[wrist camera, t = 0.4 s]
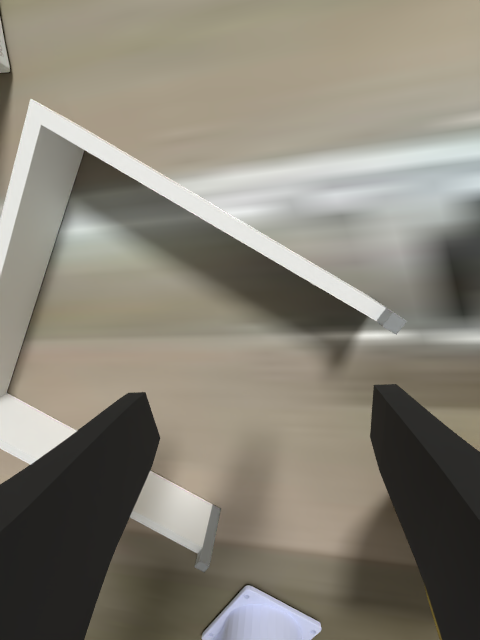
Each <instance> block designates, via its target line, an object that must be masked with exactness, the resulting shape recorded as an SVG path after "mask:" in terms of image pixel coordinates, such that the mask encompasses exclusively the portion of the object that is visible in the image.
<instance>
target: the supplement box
mask: <svg viewBox="0 0 480 640" xmlns="http://www.w3.org/2000/svg"><path fill="white" fill-rule="evenodd" d="M5 72H10V65H9V61H8V56H7V51H6V47H5V41H4V35H3V30H2V24H1V18H0V73H5Z"/></svg>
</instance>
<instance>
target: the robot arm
mask: <svg viewBox="0 0 480 640" xmlns="http://www.w3.org/2000/svg"><path fill="white" fill-rule="evenodd" d="M370 438H371V442H372V445H373V449H374V453H375V456H376V460H377V463H378V467H379V470H380V473H381V476H382V478H383V481H384V483H385V486H386V488H387V491H388V493H389V496H390V498H391V501H392V503H393V506H394V508H395V511H396V513H397V516H398V518H399V520H400V523H401V525H402V528H403V530H404V533H405V535H406V538H407V540H408V543H409V545H410V548H411V550H412V552H413V555H414V557H415V560H416V562H417V565H418V568H419V571H420V573H421V576H422V579H423V582H424V584H425V587H426V591H427V594H428V597H429V600H430V603H431V606H432V609H433V613H434V616H435V619H436V622H437V625H438V628H439V632H440V635H441V638H442V640H480V452H479V451H478V450H476V449H475V448H474V447H472V446H471V445H470V444H468V443H467V442H466V441H465V440H463V439H462V438H461V437H459V436H458V435H457V434H456V433H454V432H453V431H452V430H451V429H449V428H448V427H447V426H446V425H444V424H443V423H442V422H441V421H439V420H438V419H437V418H436V417H435V416H433V415H432V414H431V413H430V412H429V411H427V410H426V409H425V408H424V407H423V406H421V405H420V404H419V403H418V402H417V401H416V400H414V399H413V398H412V397H411V396H410V395H408V394H407V393H406V392H405V391H404V390H403V389H401V388H400V387H399V386H398V385H396V384H391V385H374V391H373V405H372V419H371V433H370ZM159 440H160V436H159V433H158V430H157V427H156V424H155V421H154V418H153V414H152V411H151V408H150V405H149V402H148V399H147V396H146V393H145V392H141V393H128V394H126V395H125V396H123V397H122V398H120V399H119V400H117V401H116V402H115V403H113V404H112V405H111V406H109V407H108V408H107V409H105V410H104V411H103V412H101V413H100V414H99V415H97V416H96V417H95V418H94V419H92V420H91V421H90V422H88V423H87V424H86V425H84V426H83V427H82V428H80V429H79V430H78V431H76V432H75V433H74V434H72V435H71V436H70V437H68V438H67V439H66V440H64V441H63V442H62V443H60V444H59V445H57V446H56V447H55V448H53V449H52V450H50V451H49V452H48V453H46V454H45V455H43V456H42V457H41V458H39V459H38V460H36V461H35V462H34V463H32V464H31V465H29V466H28V467H26V468H25V469H23V470H22V471H20V472H19V473H17V474H16V475H14V476H13V477H11V478H10V479H8V480H7V481H5V482H4V483H2V484H0V640H84V638H85V635H86V632H87V629H88V626H89V623H90V620H91V617H92V614H93V610H94V607H95V604H96V601H97V599H98V596H99V593H100V590H101V587H102V584H103V581H104V579H105V576H106V573H107V570H108V567H109V564H110V562H111V559H112V557H113V554H114V552H115V549H116V547H117V544H118V542H119V540H120V538H121V535H122V533H123V531H124V529H125V526H126V524H127V522H128V520H129V517H130V515H131V513H132V511H133V508H134V506H135V504H136V502H137V500H138V497H139V495H140V493H141V491H142V488H143V486H144V484H145V481H146V479H147V477H148V474H149V472H150V470H151V467H152V464H153V461H154V458H155V454H156V451H157V447H158V444H159ZM320 631H321V624H320V622H318V621H317V620H315V619H313V618H311V617H309V616H307V615H305V614H304V613H302V612H300V611H298V610H296V609H294V608H292V607H290V606H288V605H287V604H285V603H283V602H281V601H279V600H277V599H275V598H273V597H272V596H270V595H268V594H266V593H264V592H262V591H260V590H258V589H257V588H255V587H253V586H250V585H247V586H245V587H244V588H243V589H242V590H241V591H240V592H239V594H238V595H237V596H236V597H235V598H234V599H233V600H232V601H231V602H230V603H229V605H228V606H227V607H226V608H225V609H224V610H223V611H222V612H221V613H220V614H219V616H218V617H217V618H216V619H215V620H214V621H213V622H212V623H211V624H210V625H209V627H208V628H207V629H206V630H205V631H204V632H203V634H202V640H311V639H312V638H313V637H314V636H316V635H317V634H318V633H319V632H320Z"/></svg>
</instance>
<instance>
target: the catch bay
mask: <svg viewBox="0 0 480 640" xmlns="http://www.w3.org/2000/svg"><path fill="white" fill-rule="evenodd" d="M84 150H85V151H87V152H89V153H90V154H92V155H94V156H96V157H97V158H99V159H101V160H102V161H104V162H106V163H107V164H109V165H111V166H113V167H114V168H116V169H118V170H119V171H121V172H123V173H125V174H126V175H128V176H130V177H131V178H133V179H135V180H136V181H138V182H140V183H142V184H143V185H145V186H147V187H148V188H150V189H152V190H154V191H155V192H157V193H159V194H160V195H162V196H164V197H165V198H167V199H169V200H171V201H172V202H174V203H176V204H177V205H179V206H181V207H183V208H184V209H186V210H188V211H189V212H191V213H193V214H194V215H196V216H198V217H200V218H201V219H203V220H205V221H206V222H208V223H210V224H212V225H213V226H215V227H217V228H218V229H220V230H222V231H223V232H225V233H227V234H229V235H230V236H232V237H234V238H235V239H237V240H239V241H241V242H242V243H244V244H246V245H247V246H249V247H251V248H252V249H254V250H256V251H258V252H259V253H261V254H263V255H264V256H266V257H268V258H270V259H271V260H273V261H275V262H276V263H278V264H280V265H281V266H283V267H285V268H287V269H288V270H290V271H292V272H293V273H295V274H297V275H298V276H300V277H302V278H304V279H305V280H307V281H309V282H310V283H312V284H314V285H316V286H317V287H319V288H321V289H322V290H324V291H326V292H327V293H329V294H331V295H333V296H334V297H336V298H338V299H339V300H341V301H343V302H345V303H346V304H348V305H350V306H351V307H353V308H355V309H356V310H358V311H360V312H362V313H363V314H365V315H367V316H368V317H370V318H372V319H374V320H375V321H377V322H378V323H379V324H380V325H381V326H382V327H384V328H386V329H388V330H389V331H391V332H393V333H394V334H397V333H398V332H399V331H400V329H401V328H402V327H403V326H404V324H405V323H406V322H407V321H406V320H405V319H403V318H402V317H400V316H399V315H397V314H396V313H394V312H393V311H391V310H390V309H388V308H387V307H385V306H384V305H382V304H381V303H379V302H378V301H376V300H375V299H373V298H371V297H370V296H368V295H366V294H365V293H363V292H361V291H360V290H358V289H356V288H354V287H353V286H351V285H349V284H348V283H346V282H344V281H343V280H341V279H339V278H337V277H336V276H334V275H332V274H331V273H329V272H327V271H326V270H324V269H322V268H321V267H319V266H317V265H315V264H314V263H312V262H310V261H309V260H307V259H305V258H304V257H302V256H300V255H298V254H297V253H295V252H293V251H292V250H290V249H288V248H287V247H285V246H283V245H282V244H280V243H278V242H276V241H275V240H273V239H271V238H270V237H268V236H266V235H265V234H263V233H261V232H259V231H258V230H256V229H254V228H253V227H251V226H249V225H248V224H246V223H244V222H243V221H241V220H239V219H237V218H236V217H234V216H232V215H231V214H229V213H227V212H226V211H224V210H222V209H220V208H219V207H217V206H215V205H214V204H212V203H210V202H209V201H207V200H205V199H204V198H202V197H200V196H198V195H197V194H195V193H193V192H192V191H190V190H188V189H187V188H185V187H183V186H181V185H180V184H178V183H176V182H175V181H173V180H171V179H170V178H168V177H166V176H165V175H163V174H161V173H159V172H158V171H156V170H154V169H153V168H151V167H149V166H148V165H146V164H144V163H142V162H141V161H139V160H137V159H136V158H134V157H132V156H131V155H129V154H127V153H126V152H124V151H122V150H120V149H119V148H117V147H115V146H114V145H112V144H110V143H109V142H107V141H105V140H103V139H102V138H100V137H98V136H97V135H95V134H93V133H92V132H90V131H88V130H87V129H85V128H83V127H81V126H80V125H78V124H76V123H74V122H73V121H71V120H69V119H67V118H65V117H63V116H62V115H60V114H58V113H56V112H54V111H53V110H51V109H49V108H47V107H45V106H43V105H42V104H40V103H38V102H36V101H34V100H32V99H30V103H29V107H28V111H27V115H26V119H25V123H24V127H23V131H22V135H21V139H20V143H19V147H18V151H17V155H16V159H15V163H14V167H13V171H12V175H11V179H10V183H9V187H8V191H7V195H6V199H5V203H4V207H3V211H2V215H1V219H0V449H2V450H4V451H6V452H8V453H10V454H11V455H13V456H15V457H17V458H19V459H21V460H23V461H25V462H27V463H28V464H30V465H31V464H32V463H34V462H35V461H36V460H38V459H39V458H41V457H42V456H43V455H45V454H46V453H48V452H49V451H50V450H52V449H53V448H55V447H56V446H57V445H59V444H60V443H62V442H63V441H64V440H66V439H67V438H68V437H70V436H71V435H72V434H74V433H75V432H76V430H75V429H73V428H71V427H69V426H67V425H65V424H63V423H62V422H60V421H58V420H56V419H54V418H52V417H51V416H49V415H47V414H45V413H43V412H41V411H39V410H38V409H36V408H34V407H32V406H30V405H28V404H27V403H25V402H23V401H21V400H19V399H17V398H15V397H14V396H12V395H10V394H8V393H7V390H8V387H9V384H10V381H11V378H12V375H13V372H14V368H15V365H16V362H17V359H18V356H19V353H20V350H21V347H22V343H23V340H24V337H25V334H26V331H27V328H28V325H29V322H30V319H31V315H32V312H33V309H34V306H35V303H36V300H37V297H38V294H39V290H40V287H41V284H42V281H43V278H44V275H45V272H46V269H47V266H48V262H49V259H50V256H51V253H52V250H53V247H54V244H55V241H56V237H57V234H58V231H59V228H60V225H61V222H62V219H63V216H64V213H65V209H66V206H67V203H68V200H69V197H70V194H71V191H72V188H73V184H74V181H75V178H76V175H77V172H78V169H79V166H80V163H81V160H82V156H83V153H84ZM220 511H221V509H220V508H219V507H217V506H215V505H213V504H211V503H209V502H207V501H206V500H204V499H202V498H200V497H198V496H196V495H195V494H193V493H191V492H189V491H187V490H185V489H183V488H182V487H180V486H178V485H176V484H174V483H172V482H171V481H169V480H167V479H165V478H163V477H161V476H159V475H158V474H156V473H154V472H152V471H150V472H149V474H148V477H147V479H146V481H145V484H144V486H143V488H142V491H141V493H140V495H139V497H138V500H137V502H136V504H135V506H134V508H133V511H132V513H131V515H130V518H132V519H134V520H135V521H137V522H139V523H141V524H143V525H145V526H147V527H149V528H150V529H152V530H154V531H156V532H158V533H160V534H162V535H164V536H165V537H167V538H169V539H171V540H173V541H175V542H177V543H179V544H180V545H182V546H184V547H186V548H188V549H190V550H192V551H194V552H195V553H197V558H196V562H195V568H197V569H199V570H201V571H203V572H205V571H206V570H207V568H208V567H209V566H210V561H211V556H212V551H213V546H214V541H215V536H216V531H217V526H218V521H219V516H220Z"/></svg>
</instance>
